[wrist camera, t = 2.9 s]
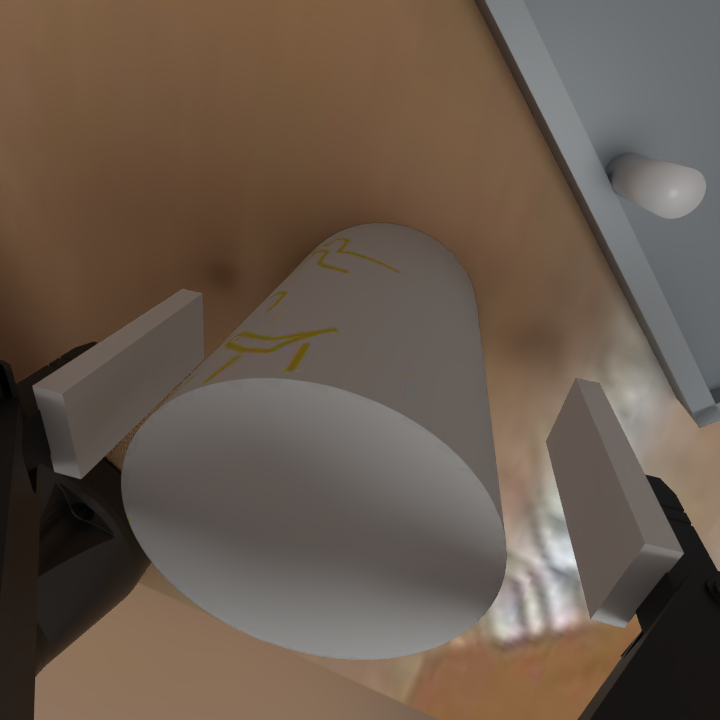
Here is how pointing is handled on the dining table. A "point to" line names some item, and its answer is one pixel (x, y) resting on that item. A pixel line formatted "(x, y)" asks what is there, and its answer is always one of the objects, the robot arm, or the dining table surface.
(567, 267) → the dining table surface
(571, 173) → the tray
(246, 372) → the cup
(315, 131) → the dining table surface
